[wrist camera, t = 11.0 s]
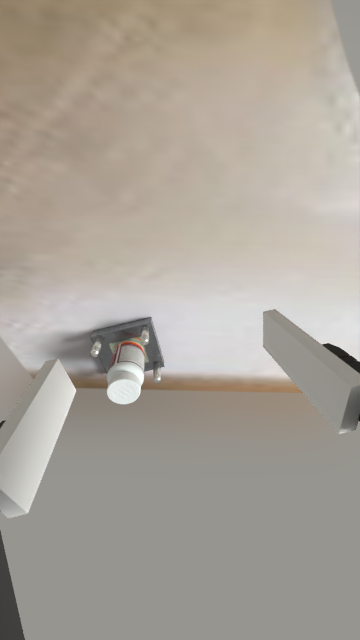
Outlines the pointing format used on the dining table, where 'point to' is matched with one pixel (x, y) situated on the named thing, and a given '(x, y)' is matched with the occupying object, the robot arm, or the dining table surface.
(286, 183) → the dining table surface
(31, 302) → the dining table surface
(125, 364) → the pill bottle
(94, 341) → the chassis
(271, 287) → the dining table surface
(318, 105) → the dining table surface
